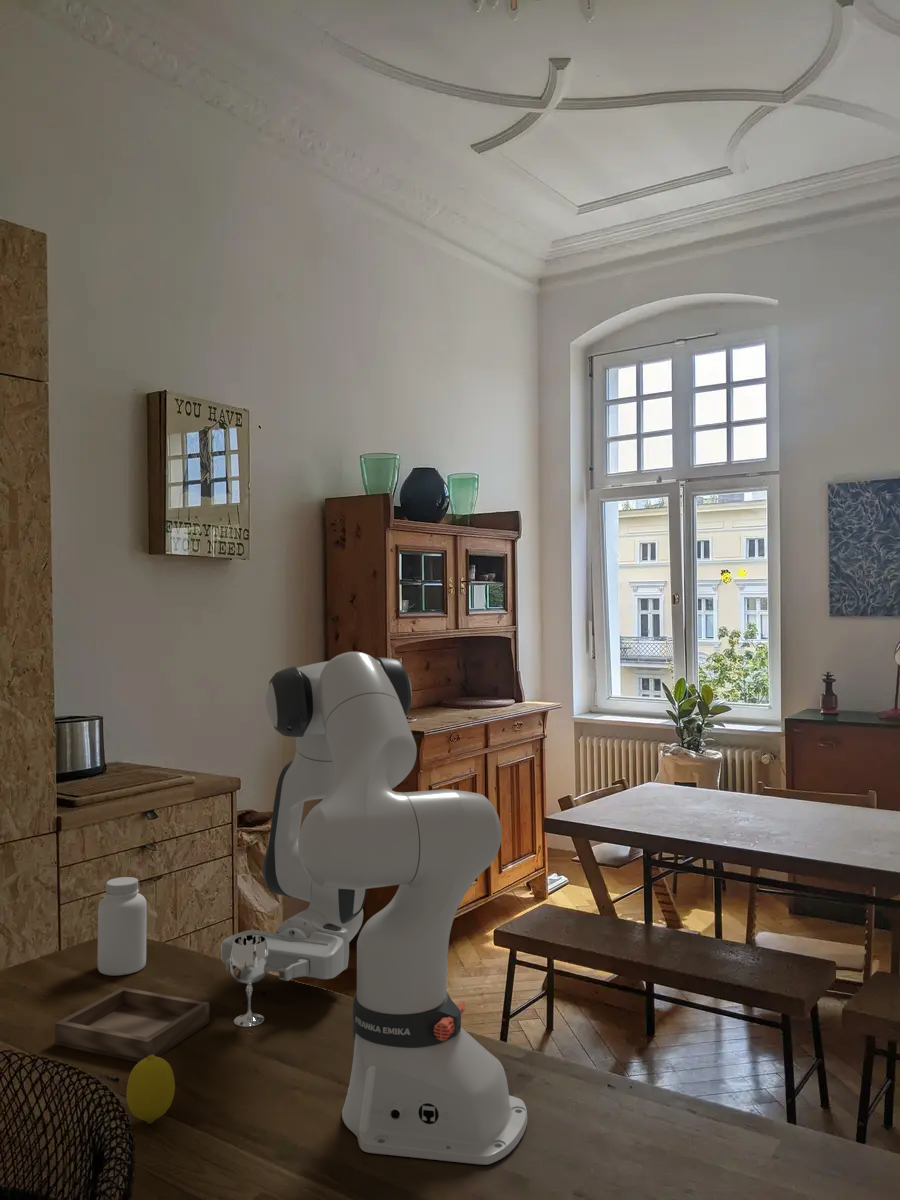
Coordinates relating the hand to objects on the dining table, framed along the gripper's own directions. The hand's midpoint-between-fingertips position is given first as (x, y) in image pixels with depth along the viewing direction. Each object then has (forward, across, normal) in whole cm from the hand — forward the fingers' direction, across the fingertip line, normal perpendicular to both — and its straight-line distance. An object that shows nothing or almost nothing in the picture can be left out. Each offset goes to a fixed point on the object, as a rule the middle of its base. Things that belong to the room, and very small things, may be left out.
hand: (256, 970), depth 143 cm
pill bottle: (-8, -32, +7) cm, 34 cm away
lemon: (+30, +5, +7) cm, 32 cm away
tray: (+12, -13, +7) cm, 19 cm away
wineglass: (+2, 0, +7) cm, 7 cm away
